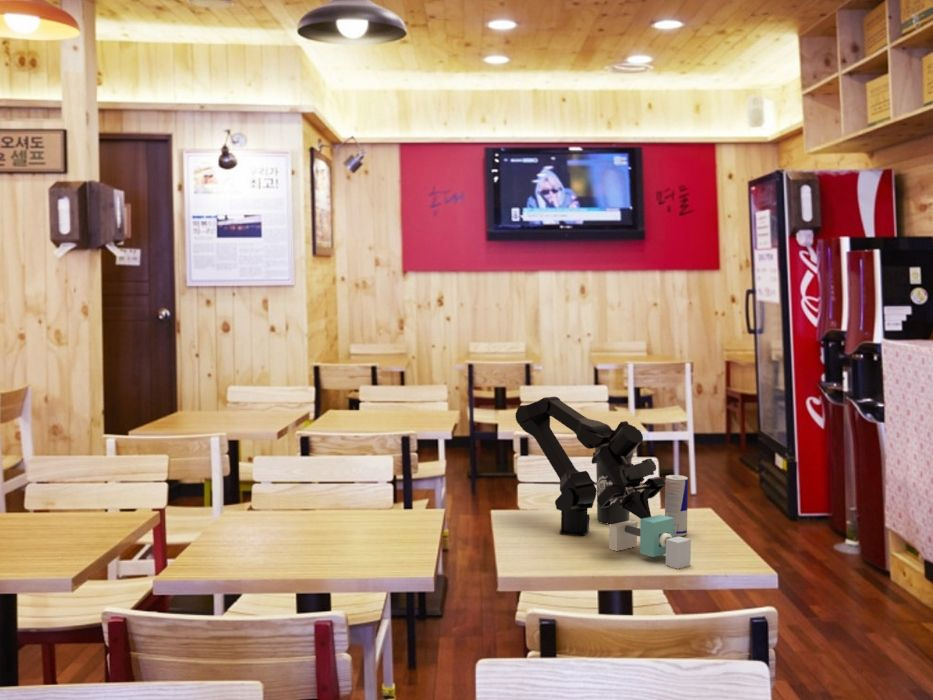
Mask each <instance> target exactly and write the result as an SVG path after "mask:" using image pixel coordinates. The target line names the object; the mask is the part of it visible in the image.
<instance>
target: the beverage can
mask: <svg viewBox="0 0 933 700" xmlns="http://www.w3.org/2000/svg"><path fill="white" fill-rule="evenodd" d="M688 479H689V477H687V476H686V475H685V476H684V475H678V474H677V475H676V474H669V475H665V484H666V485H665V486H664V487H665V489H664V491H665V492H664V496H665V497H664V499H665V500H664V516H668V517H672V518H674V537H678V536H680V537H684V536H686V535H687V534H688V505H689V504H688V500H689V497H688V496H689V480H688Z"/></svg>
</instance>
